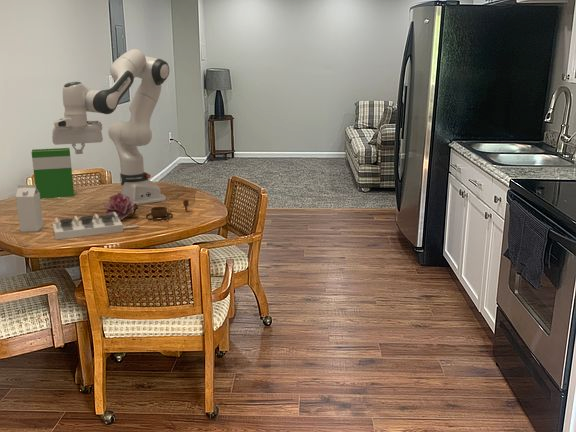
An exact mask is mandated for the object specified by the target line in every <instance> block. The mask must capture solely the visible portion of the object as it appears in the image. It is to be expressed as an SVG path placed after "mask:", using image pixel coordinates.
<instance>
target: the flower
mask: <svg viewBox="0 0 576 432" xmlns="http://www.w3.org/2000/svg"><path fill="white" fill-rule="evenodd" d="M134 201H135V200H134V199H133V200H132V201H130V198H129V197H128V196H125V195H123V194H121V193H117V194H114V195H112V196H110V197H109V201H108V204H103V207H104V208H105V209H107V210H105V214H113V212H116V214H117V215H118V218H119V220H120V221H121V220H124V218H125V217H127V216H128V214H129V213H132V218H133V217H134V216H135V215H134V214H135V212H136V211H137V210H138V209H139V205H137V204H134Z"/></svg>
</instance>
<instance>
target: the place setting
mask: <svg viewBox="0 0 576 432" xmlns="http://www.w3.org/2000/svg"><path fill="white" fill-rule="evenodd" d="M182 201H183V202H182V203H183V206H184V207H185V208H184V212H185V211H186V212H185V213H187V212H188V207H189V200H187V199H186V200H182ZM166 214H169V215H168V217H165V216H167V215H166ZM150 215H152V216H150ZM170 215H171V216H170ZM173 215H174V214H173V213H172V212H171V211H170V212H169V211H168V209H167V207H166V206H154V207H151V208H150V213H147V214H146V215H145V218H146V219H145V220H147V219H148V220H147V221H150V220H153V221H152V222H162V221H161V220H164V221H167V222H166V223H169V220H171V219H172V218H173ZM148 216H149V217H148ZM150 217H152V218H150ZM163 217H164V218H163ZM156 218H161V219H156ZM170 218H171V219H170ZM167 219H168V220H167Z"/></svg>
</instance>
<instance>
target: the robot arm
mask: <svg viewBox="0 0 576 432" xmlns="http://www.w3.org/2000/svg"><path fill="white" fill-rule="evenodd" d="M109 73H110V76H111V78H112V79H113V80H114V82H113V84H112V85H111V86H110V87H108V88H107V89H106V88H105V89H92V88H90V87H87V86H85V84H83V83H82V82H80V81H71V82H68V83H65V84H64V85H63V88H62V102H63V103H62V104H63V107H64V113H63V114H64V117H62V118H60V119H56V120H54V122H53V125H54V127H53V128H52V136H51V137H52V143H53V144H54V145H57V146H59V145H71V146H72V148H73V149H74V151H75V152H74V153H75V155H83V153H84V151H83V150H84V149H85V146H86V144H93V143H96V144H97V143H102V142H103V139H104V138H103V133H102V131H103V124H102V122H100V121H99V120H88V115H87V114H88V112H89V113H99V114H104V115H111V114H112V113H114V112H115V110H116V109H117V108H118V105H119V103H120V100H121V99H122V98H123V96H124V95H125V94H126V93H127V92H128V90H129V89H130V88H131V87H132V86H133V84H134V80H135V78H138V79H141V81H140V84H139V86H138V88H137V90H136V91H135V93H134V95H133V97H132V100H131V102H130V104H129V106H128V108H129V112H130V119H129V120H128V121H122V120H121V121H114V122H113V123H111V124H110V125H109V127H108V130H107V131H108V134H107V135H108V136H109V139H111V141H112V142H113V143H114V146H115V149H116V150H117V154H118V158H119V165H120V166H119V167H120V174H119V179H120V181H119V182H120V185H121V189H120V190H121V191H120V194H123V195H125V196H128V197H129V198H130V201H132V200H133V199H134V200H135V201H134V204H137V206H139V205H146V204H152V203H157V202H158V203H159V202H165V201H166V200H167V197H166V195H164V194H163V193H162V191H161V188H160V186H159V185H158V184H156V183H154V182H153V181H151V180H150V178H151V174H150V173H147V172H145V167H144V156H143V154H141V152H140V151H139V149H138V147H142V146H146V145H149V144H150V143H151V141H152V137H153V134H152V129H151V127H150V123H151V118H152V115H153V112H154V110H155V108H156V106H157V103H158V101H159V99H160V95H161V92H162V84H163V83H165V81H166V80H167V79H168V77H169V74H170V67H169V63H168V62H167V61H165V60H164V59H162V58H157V57H155V56H148V55H145V53H143V51H141V50H140V49H137V48H131V49H130V50H127V51H126V52H124V53H122V54H121V55H120V56H119V57H117V58H116V59H115V60H114V61H113V62H112V63H111V65H110V68H109ZM76 144H80V146H81V147H80V148H79V149H77V148H76V146H77V145H76Z"/></svg>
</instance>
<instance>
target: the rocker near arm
mask: <svg viewBox="0 0 576 432" xmlns="http://www.w3.org/2000/svg"><path fill="white" fill-rule="evenodd" d="M110 218H113V214H106V213H101V214H100V216H99V219H110Z"/></svg>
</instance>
